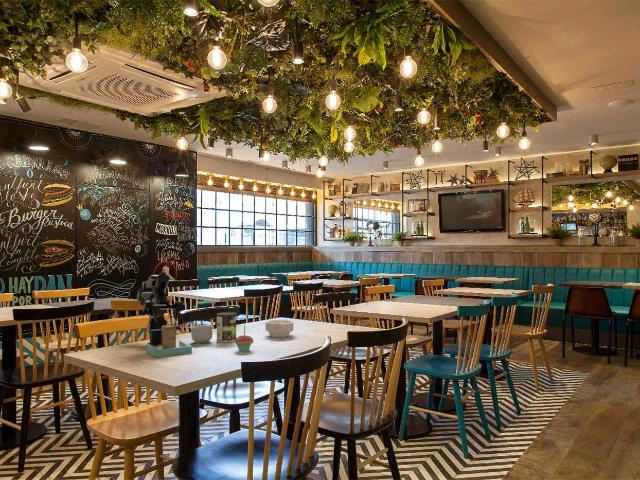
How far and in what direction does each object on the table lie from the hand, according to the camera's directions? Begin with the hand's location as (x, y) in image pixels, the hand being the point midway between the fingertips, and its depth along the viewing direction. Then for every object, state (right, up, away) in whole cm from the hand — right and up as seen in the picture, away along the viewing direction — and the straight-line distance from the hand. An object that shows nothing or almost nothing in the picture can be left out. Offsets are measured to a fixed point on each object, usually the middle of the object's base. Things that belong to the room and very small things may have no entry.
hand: (166, 321), depth 225 cm
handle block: (+2, -13, -4) cm, 14 cm away
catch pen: (+2, -13, -4) cm, 14 cm away
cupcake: (+37, -13, -2) cm, 40 cm away
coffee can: (+24, -14, +23) cm, 36 cm away
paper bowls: (+50, -14, +35) cm, 63 cm away
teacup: (+12, -14, +20) cm, 27 cm away
